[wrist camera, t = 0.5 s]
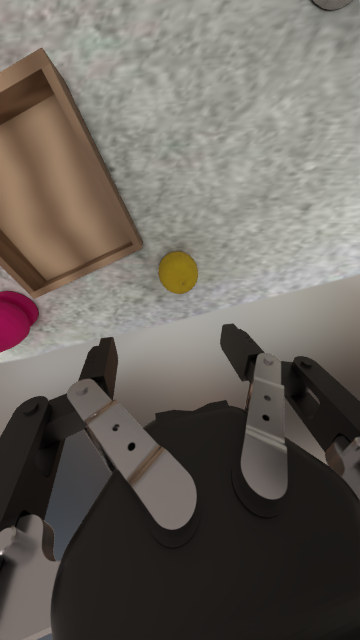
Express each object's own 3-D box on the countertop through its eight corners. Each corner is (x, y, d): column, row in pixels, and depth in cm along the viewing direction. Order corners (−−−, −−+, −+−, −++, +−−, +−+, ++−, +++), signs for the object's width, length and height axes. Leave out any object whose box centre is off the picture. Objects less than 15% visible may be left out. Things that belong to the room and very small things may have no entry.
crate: (63, 79, 18) (41, 47, 14) (142, 241, 27) (142, 248, 23) (-69, 155, 19) (-122, 144, 15) (48, 285, 28) (34, 298, 24)
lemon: (149, 264, 29) (151, 283, 22) (175, 238, 27) (184, 250, 20) (173, 287, 31) (181, 310, 25) (198, 264, 30) (213, 282, 23)
